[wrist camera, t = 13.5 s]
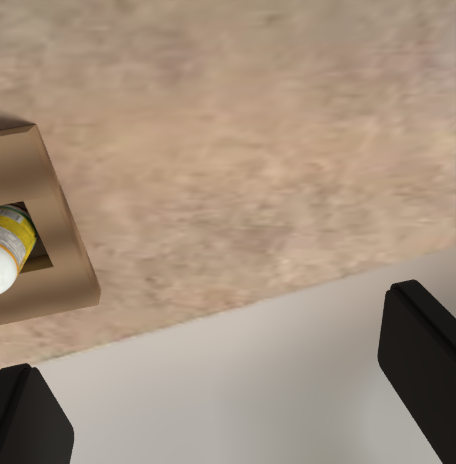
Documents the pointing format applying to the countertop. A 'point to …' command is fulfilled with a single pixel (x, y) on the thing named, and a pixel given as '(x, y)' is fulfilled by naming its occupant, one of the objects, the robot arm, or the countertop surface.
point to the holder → (43, 234)
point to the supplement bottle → (14, 243)
